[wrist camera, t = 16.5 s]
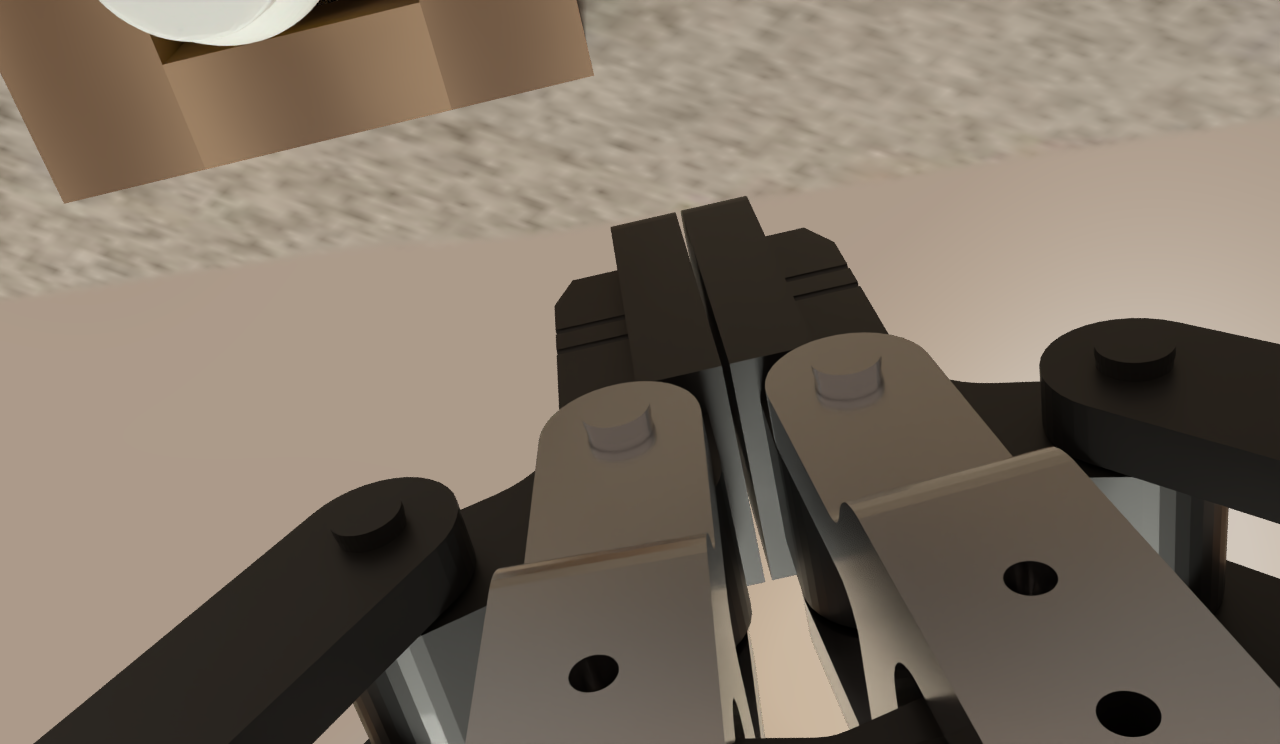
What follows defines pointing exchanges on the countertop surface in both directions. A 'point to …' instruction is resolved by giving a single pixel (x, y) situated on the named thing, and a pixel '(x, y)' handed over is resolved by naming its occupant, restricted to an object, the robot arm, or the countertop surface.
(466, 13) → the socket board
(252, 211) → the countertop surface
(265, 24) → the supplement bottle
